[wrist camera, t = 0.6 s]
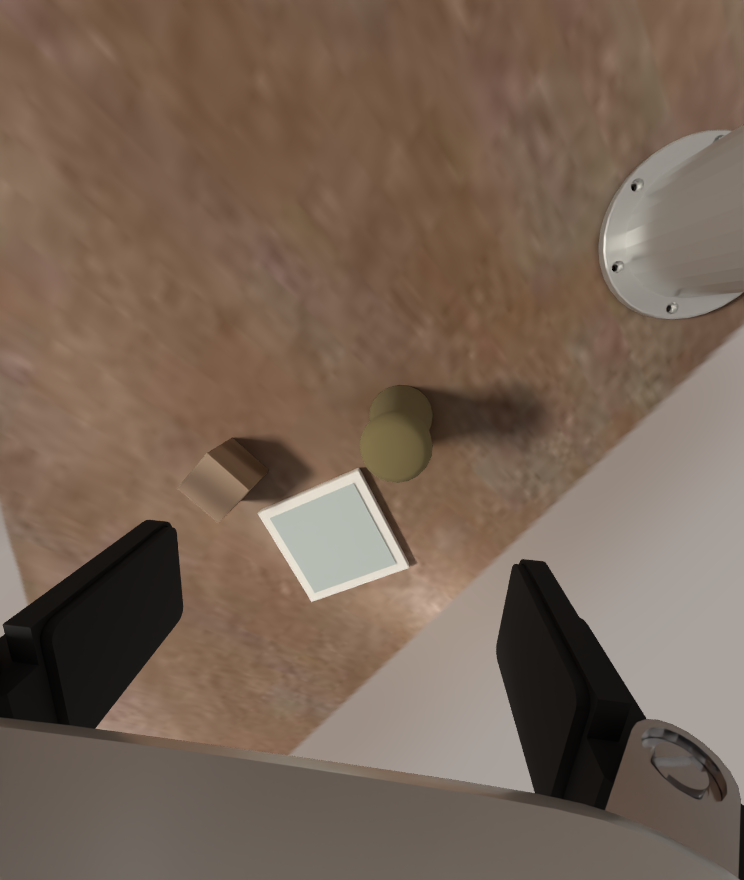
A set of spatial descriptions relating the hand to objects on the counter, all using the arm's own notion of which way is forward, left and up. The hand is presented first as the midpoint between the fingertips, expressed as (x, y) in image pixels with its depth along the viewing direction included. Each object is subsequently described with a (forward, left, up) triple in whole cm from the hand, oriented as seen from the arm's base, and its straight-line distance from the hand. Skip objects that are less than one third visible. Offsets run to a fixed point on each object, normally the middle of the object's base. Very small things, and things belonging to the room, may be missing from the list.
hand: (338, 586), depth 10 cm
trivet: (+12, +11, -27) cm, 31 cm away
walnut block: (+18, 0, -27) cm, 32 cm away
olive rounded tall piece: (0, +2, -27) cm, 27 cm away
